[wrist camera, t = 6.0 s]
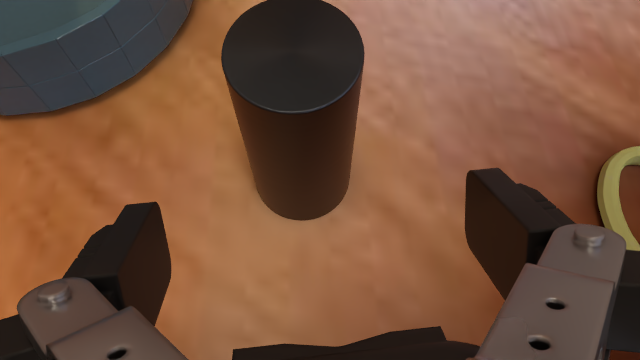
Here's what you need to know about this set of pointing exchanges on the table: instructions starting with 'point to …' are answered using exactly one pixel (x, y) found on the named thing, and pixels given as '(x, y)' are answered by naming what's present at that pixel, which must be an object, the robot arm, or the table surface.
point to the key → (616, 194)
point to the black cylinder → (296, 101)
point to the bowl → (78, 48)
